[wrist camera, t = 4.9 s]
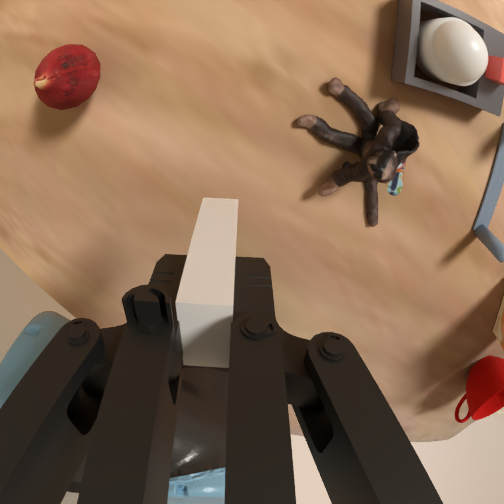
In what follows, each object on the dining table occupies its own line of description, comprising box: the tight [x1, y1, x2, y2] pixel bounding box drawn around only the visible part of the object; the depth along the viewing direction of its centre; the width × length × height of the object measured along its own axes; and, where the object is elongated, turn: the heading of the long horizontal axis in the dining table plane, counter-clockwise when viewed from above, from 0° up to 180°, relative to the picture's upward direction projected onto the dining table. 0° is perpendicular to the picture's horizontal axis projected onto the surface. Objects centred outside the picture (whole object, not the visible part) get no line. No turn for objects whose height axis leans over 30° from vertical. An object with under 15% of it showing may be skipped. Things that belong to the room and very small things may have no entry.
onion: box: [34, 44, 100, 110], centre depth 20 cm, size 6×6×8 cm
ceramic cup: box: [455, 356, 504, 423], centre depth 48 cm, size 13×17×10 cm
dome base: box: [391, 0, 504, 117], centre depth 20 cm, size 12×9×5 cm
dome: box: [416, 17, 488, 86], centre depth 19 cm, size 6×6×6 cm
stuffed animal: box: [297, 78, 419, 227], centre depth 28 cm, size 12×10×12 cm
